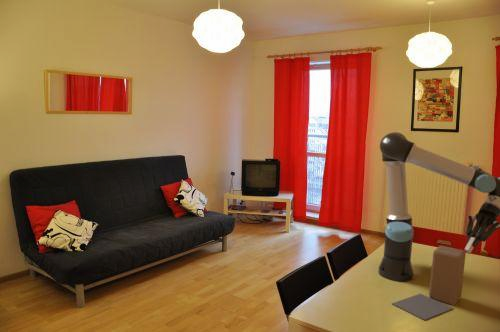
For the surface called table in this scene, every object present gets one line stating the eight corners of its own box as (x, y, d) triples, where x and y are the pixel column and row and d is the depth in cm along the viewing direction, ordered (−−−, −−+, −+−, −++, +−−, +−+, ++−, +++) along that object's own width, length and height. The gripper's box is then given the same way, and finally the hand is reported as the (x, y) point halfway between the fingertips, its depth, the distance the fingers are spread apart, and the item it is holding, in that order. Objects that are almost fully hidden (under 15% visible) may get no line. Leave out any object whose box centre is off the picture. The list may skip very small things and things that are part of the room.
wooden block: (435, 290, 169) (439, 244, 166) (461, 298, 163) (466, 250, 160) (428, 298, 161) (432, 250, 159) (455, 306, 155) (460, 256, 152)
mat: (420, 294, 164) (420, 293, 164) (453, 308, 153) (453, 307, 153) (391, 304, 155) (391, 303, 155) (424, 320, 143) (424, 319, 143)
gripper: (474, 199, 177) (449, 241, 170) (505, 205, 166) (480, 251, 159) (479, 210, 181) (454, 251, 173) (510, 216, 170) (486, 261, 163)
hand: (467, 251), depth 166 cm, fingers closed
